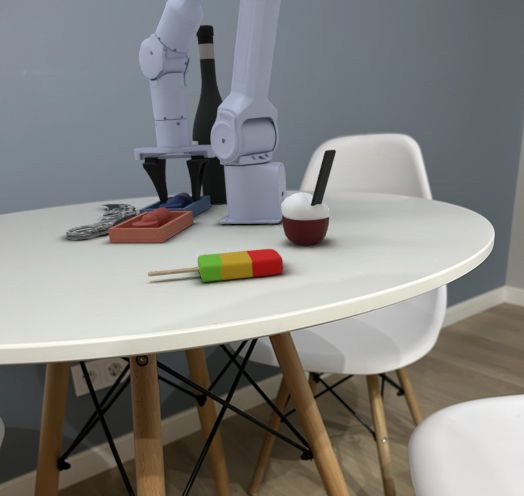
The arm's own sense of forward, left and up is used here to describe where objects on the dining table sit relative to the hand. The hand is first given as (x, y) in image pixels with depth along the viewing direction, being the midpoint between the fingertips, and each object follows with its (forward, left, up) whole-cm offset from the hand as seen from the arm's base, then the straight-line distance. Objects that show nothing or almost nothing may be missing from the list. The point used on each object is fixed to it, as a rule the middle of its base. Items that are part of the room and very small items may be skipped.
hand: (180, 200), depth 104 cm
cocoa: (-27, +24, -2) cm, 36 cm away
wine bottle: (-4, -10, -2) cm, 11 cm away
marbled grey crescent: (+10, +8, -2) cm, 13 cm away
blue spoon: (0, +2, -1) cm, 2 cm away
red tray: (-2, +17, -2) cm, 17 cm away
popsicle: (-19, +39, -2) cm, 43 cm away
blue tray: (0, +2, -2) cm, 3 cm away
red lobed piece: (-2, +17, -1) cm, 17 cm away
